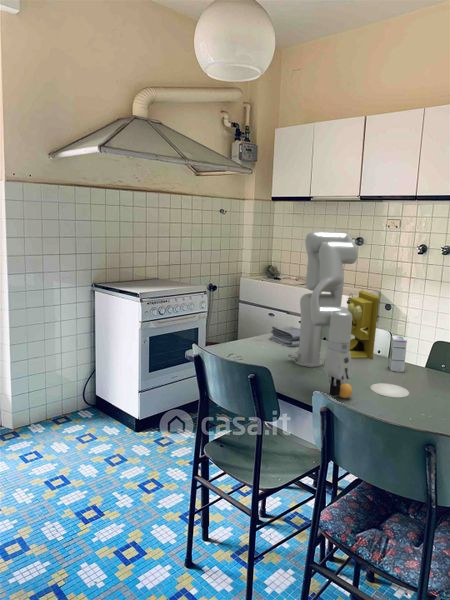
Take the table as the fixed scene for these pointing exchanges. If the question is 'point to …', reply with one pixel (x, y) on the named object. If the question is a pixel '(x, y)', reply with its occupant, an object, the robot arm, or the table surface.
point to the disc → (389, 390)
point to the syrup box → (397, 353)
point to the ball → (345, 391)
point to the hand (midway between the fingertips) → (334, 395)
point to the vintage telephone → (363, 324)
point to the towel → (286, 336)
